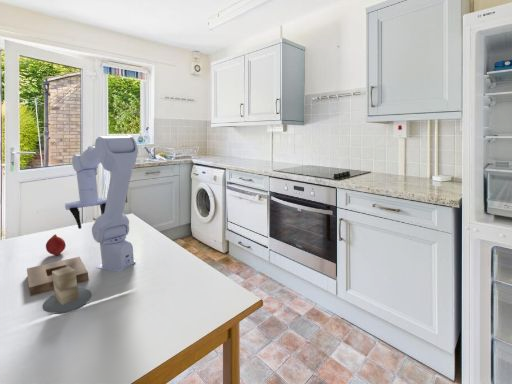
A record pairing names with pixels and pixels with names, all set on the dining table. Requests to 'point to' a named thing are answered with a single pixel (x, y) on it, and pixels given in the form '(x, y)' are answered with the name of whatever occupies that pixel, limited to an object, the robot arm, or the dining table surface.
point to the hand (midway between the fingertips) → (92, 225)
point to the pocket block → (43, 278)
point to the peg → (65, 285)
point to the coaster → (55, 306)
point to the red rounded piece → (55, 245)
